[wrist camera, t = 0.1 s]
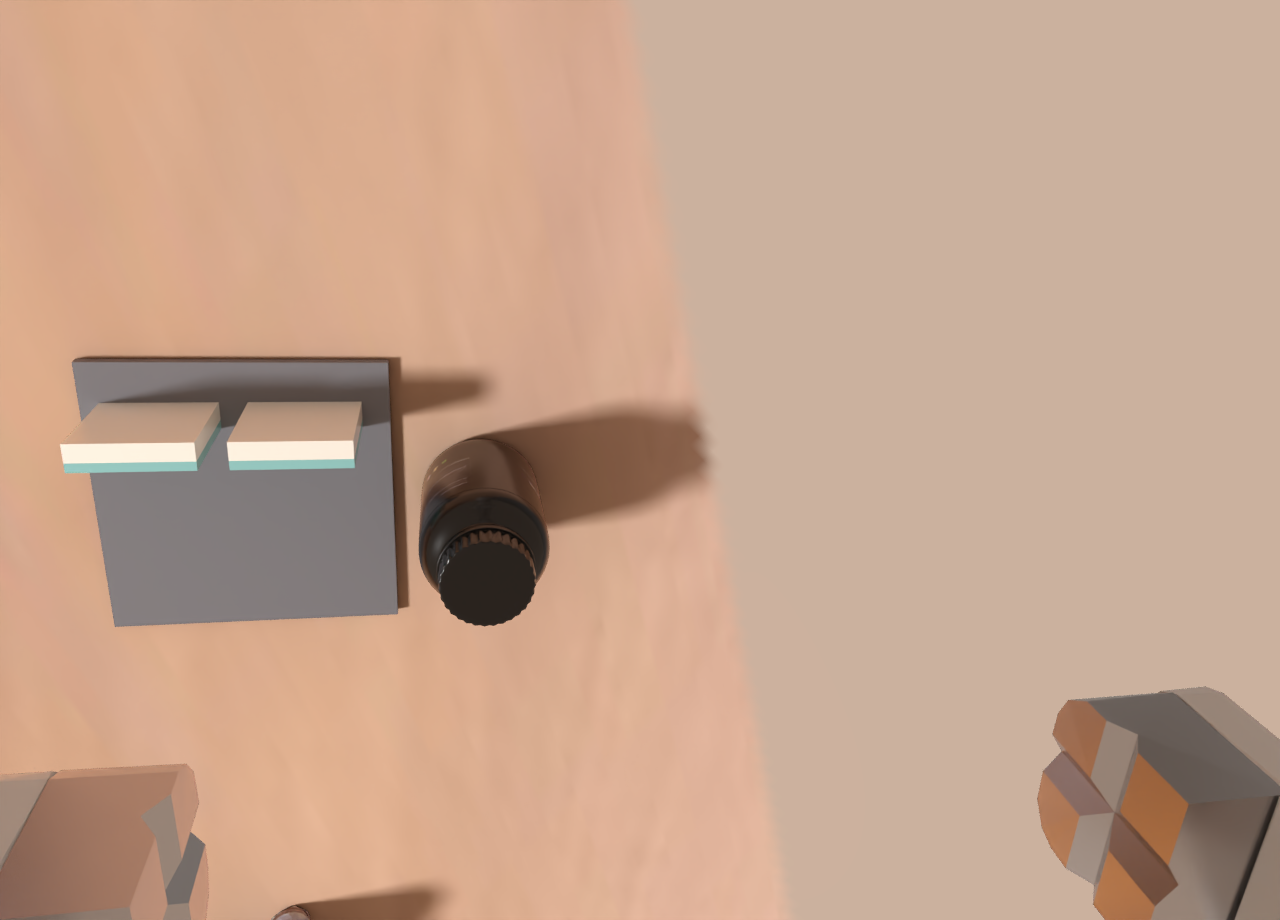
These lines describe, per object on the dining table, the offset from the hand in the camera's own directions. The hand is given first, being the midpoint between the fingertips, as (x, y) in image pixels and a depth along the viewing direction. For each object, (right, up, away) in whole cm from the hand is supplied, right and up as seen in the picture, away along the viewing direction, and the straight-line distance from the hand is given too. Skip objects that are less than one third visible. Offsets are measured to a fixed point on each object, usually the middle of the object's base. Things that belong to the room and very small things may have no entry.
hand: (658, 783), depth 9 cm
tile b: (-26, +5, +45) cm, 52 cm away
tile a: (-19, +6, +46) cm, 50 cm away
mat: (-23, +1, +48) cm, 53 cm away
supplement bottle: (-10, +1, +50) cm, 51 cm away
